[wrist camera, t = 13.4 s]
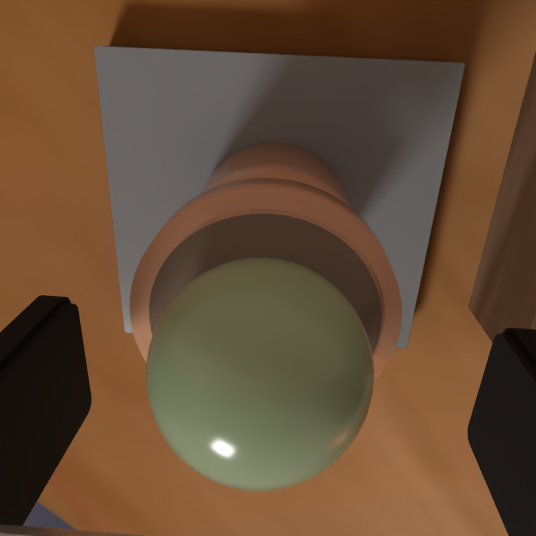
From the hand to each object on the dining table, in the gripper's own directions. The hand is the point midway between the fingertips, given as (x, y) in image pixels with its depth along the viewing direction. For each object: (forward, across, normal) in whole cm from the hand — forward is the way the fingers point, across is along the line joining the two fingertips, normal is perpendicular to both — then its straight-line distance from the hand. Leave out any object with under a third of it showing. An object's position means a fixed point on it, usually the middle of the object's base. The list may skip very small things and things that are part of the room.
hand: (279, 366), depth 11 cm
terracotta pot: (+9, +1, 0) cm, 9 cm away
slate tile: (+11, +1, 0) cm, 11 cm away
